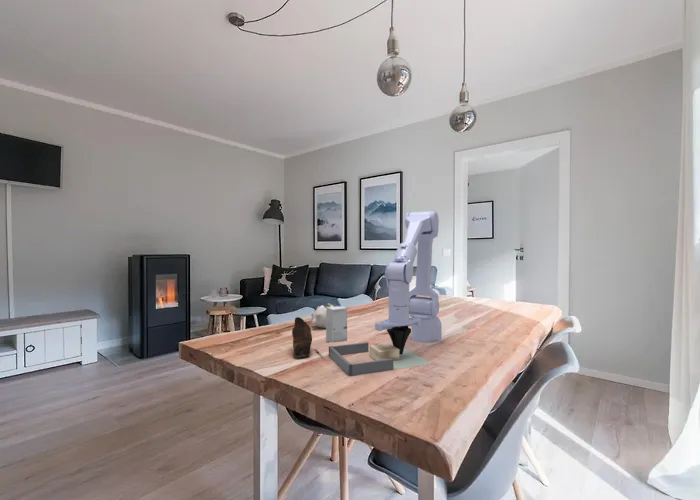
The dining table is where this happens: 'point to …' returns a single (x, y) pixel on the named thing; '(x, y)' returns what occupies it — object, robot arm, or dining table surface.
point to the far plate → (409, 360)
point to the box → (357, 368)
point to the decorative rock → (301, 338)
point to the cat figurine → (320, 316)
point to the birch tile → (384, 352)
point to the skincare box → (336, 324)
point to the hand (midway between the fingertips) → (398, 353)
